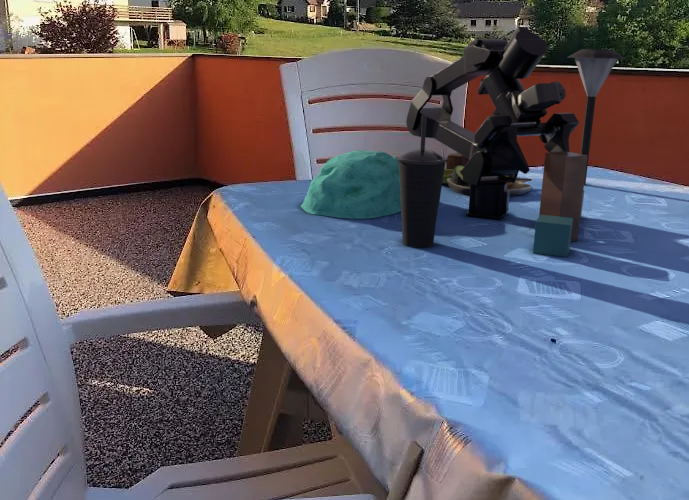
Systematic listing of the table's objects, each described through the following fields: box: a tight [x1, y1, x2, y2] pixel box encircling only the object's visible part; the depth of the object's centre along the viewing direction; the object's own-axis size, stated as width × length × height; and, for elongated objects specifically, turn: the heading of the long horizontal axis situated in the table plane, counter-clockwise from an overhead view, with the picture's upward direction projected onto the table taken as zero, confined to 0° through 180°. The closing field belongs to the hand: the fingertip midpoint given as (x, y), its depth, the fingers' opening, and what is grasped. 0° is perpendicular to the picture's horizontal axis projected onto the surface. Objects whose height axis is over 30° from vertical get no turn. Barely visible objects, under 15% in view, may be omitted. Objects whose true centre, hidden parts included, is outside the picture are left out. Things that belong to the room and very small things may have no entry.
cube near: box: [532, 215, 573, 258], centre depth 109 cm, size 5×5×5 cm
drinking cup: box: [396, 116, 447, 248], centre depth 109 cm, size 8×8×20 cm
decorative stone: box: [300, 149, 401, 220], centre depth 139 cm, size 21×27×10 cm
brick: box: [445, 152, 469, 170], centre depth 176 cm, size 11×4×5 cm, turn 149°
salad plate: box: [447, 165, 533, 197], centre depth 156 cm, size 19×18×5 cm
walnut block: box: [538, 151, 587, 242], centre depth 115 cm, size 5×5×14 cm
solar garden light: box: [567, 48, 626, 186], centre depth 160 cm, size 12×12×30 cm
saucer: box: [442, 168, 453, 185], centre depth 163 cm, size 9×9×2 cm
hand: (548, 170), depth 117 cm, fingers open, 9 cm apart
